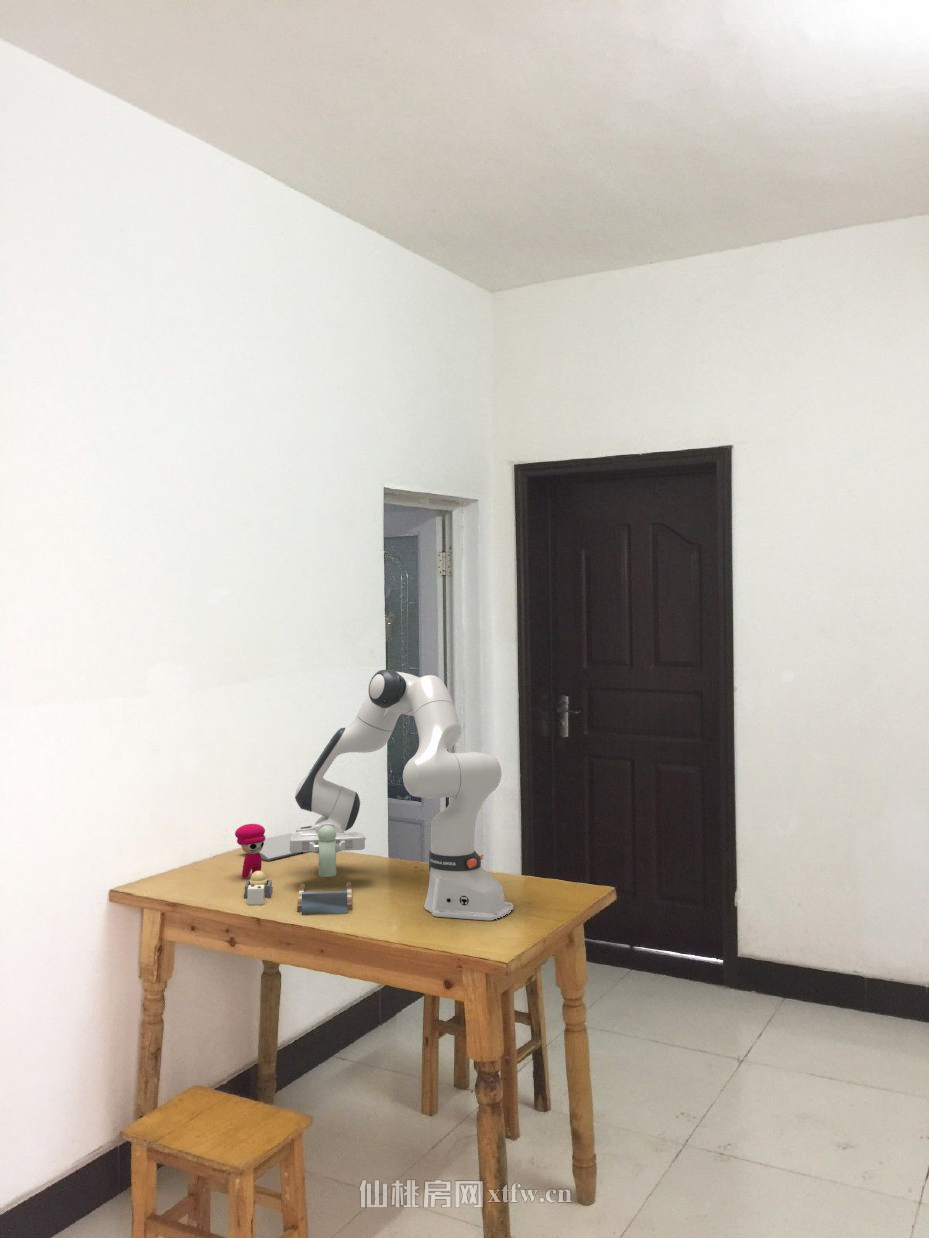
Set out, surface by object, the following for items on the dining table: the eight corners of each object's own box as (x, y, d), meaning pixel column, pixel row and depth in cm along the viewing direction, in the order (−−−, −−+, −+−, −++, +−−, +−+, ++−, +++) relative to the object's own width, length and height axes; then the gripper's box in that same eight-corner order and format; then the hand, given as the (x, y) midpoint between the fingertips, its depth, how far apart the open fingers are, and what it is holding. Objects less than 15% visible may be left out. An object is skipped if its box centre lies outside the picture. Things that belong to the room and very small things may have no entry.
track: (300, 889, 283) (300, 870, 283) (351, 887, 285) (351, 869, 284) (296, 914, 260) (296, 894, 260) (352, 912, 261) (352, 892, 261)
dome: (267, 884, 280) (267, 868, 280) (266, 888, 276) (266, 872, 276) (250, 884, 280) (250, 868, 280) (249, 889, 275) (249, 873, 275)
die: (264, 899, 272) (264, 882, 272) (263, 904, 268) (263, 886, 268) (248, 900, 272) (248, 883, 272) (247, 904, 268) (247, 887, 268)
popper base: (272, 890, 282) (272, 879, 282) (270, 897, 275) (270, 886, 275) (246, 891, 281) (246, 880, 281) (243, 898, 274) (243, 886, 274)
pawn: (340, 873, 280) (339, 824, 280) (330, 877, 276) (329, 827, 276) (324, 871, 282) (324, 823, 282) (314, 875, 278) (314, 826, 278)
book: (232, 856, 321) (232, 844, 321) (289, 843, 339) (289, 831, 339) (265, 864, 312) (265, 851, 312) (322, 850, 330) (322, 838, 330)
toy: (250, 882, 289) (250, 828, 289) (228, 878, 294) (228, 824, 294) (272, 876, 296) (272, 823, 296) (250, 871, 301) (250, 819, 301)
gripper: (365, 847, 293) (366, 858, 279) (291, 851, 291) (288, 862, 277) (365, 825, 293) (366, 835, 280) (290, 828, 291) (288, 838, 277)
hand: (327, 848), depth 278 cm, fingers closed on pawn, 5 cm apart
